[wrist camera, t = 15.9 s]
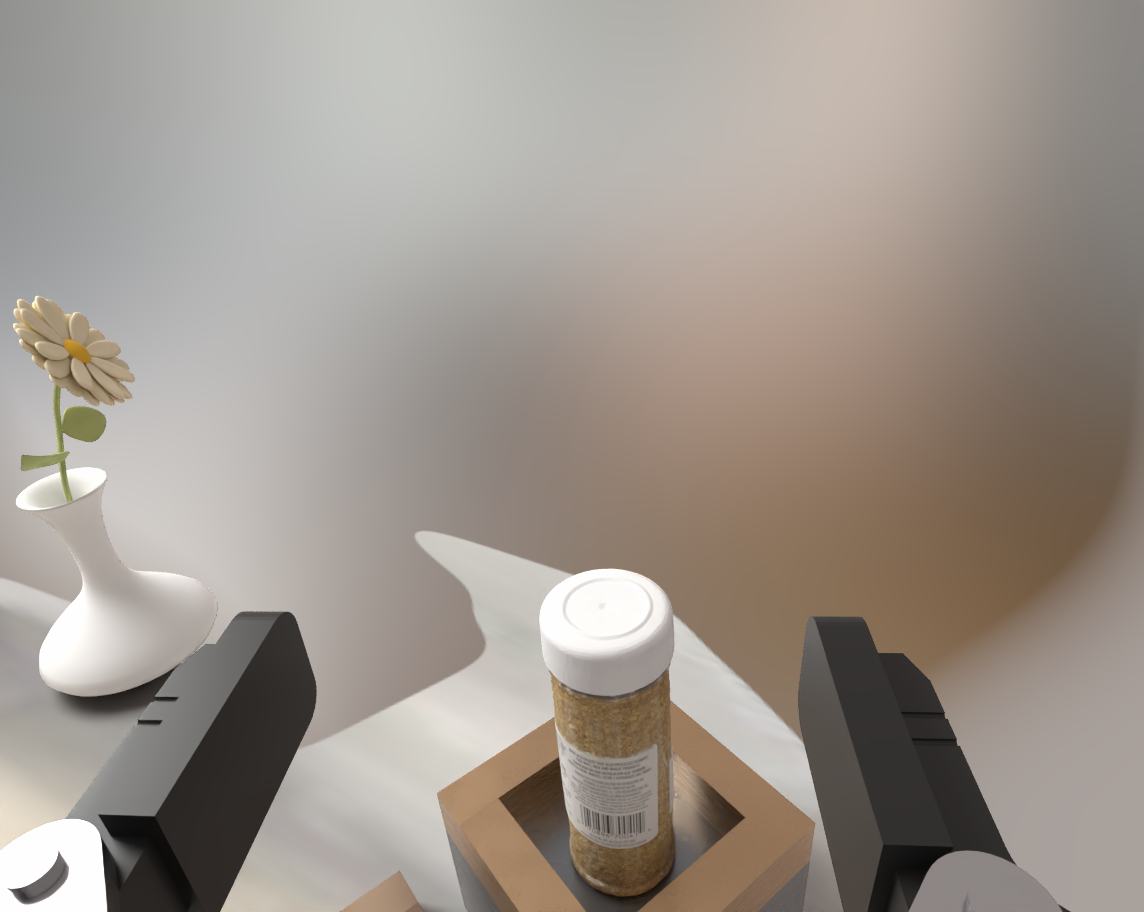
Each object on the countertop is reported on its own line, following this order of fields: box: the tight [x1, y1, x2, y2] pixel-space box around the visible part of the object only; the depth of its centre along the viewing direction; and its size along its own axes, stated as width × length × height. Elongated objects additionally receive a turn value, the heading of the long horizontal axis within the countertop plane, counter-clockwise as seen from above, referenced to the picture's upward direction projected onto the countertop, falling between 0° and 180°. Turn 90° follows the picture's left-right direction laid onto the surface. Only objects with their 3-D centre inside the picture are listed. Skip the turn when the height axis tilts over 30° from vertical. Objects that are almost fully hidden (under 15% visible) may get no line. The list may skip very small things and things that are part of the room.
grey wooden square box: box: [437, 701, 815, 912], centre depth 33 cm, size 11×11×8 cm
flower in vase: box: [13, 296, 218, 696], centre depth 48 cm, size 13×11×25 cm
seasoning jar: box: [540, 569, 675, 896], centre depth 28 cm, size 5×5×13 cm
